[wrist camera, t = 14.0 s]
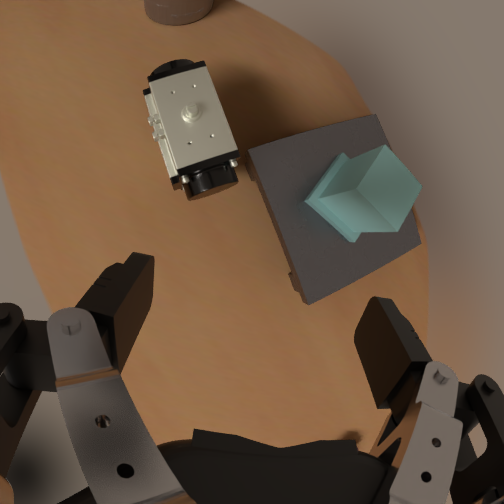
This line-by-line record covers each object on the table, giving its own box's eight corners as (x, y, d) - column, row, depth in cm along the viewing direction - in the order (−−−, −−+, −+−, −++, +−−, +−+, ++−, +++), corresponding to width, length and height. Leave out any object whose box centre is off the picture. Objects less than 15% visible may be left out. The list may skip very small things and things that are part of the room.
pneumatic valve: (194, 100, 31) (200, 40, 19) (228, 194, 32) (250, 171, 21) (147, 115, 30) (131, 59, 18) (178, 212, 31) (173, 198, 20)
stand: (238, 161, 32) (247, 149, 27) (354, 126, 35) (375, 114, 30) (292, 295, 34) (308, 305, 29) (396, 242, 37) (421, 243, 32)
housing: (304, 200, 29) (344, 189, 21) (342, 148, 29) (387, 125, 22) (350, 242, 30) (398, 244, 22) (383, 189, 31) (433, 179, 23)
